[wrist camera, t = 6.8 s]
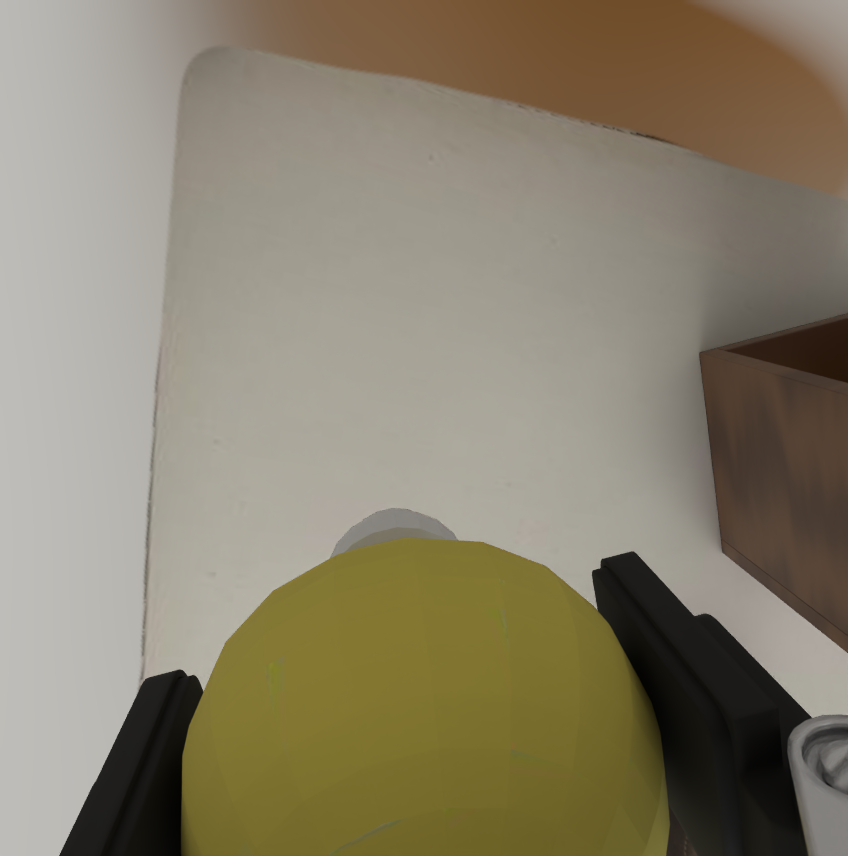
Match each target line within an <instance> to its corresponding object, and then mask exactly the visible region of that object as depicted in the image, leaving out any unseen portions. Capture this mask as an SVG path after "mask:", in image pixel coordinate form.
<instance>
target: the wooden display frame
mask: <svg viewBox="0 0 848 856" xmlns="http://www.w3.org/2000/svg"><path fill="white" fill-rule="evenodd" d="M700 362H701V370H702V379H703V387H704V396H705V404H706V413H707V421H708V430H709V439H710V447H711V456H712V464H713V473H714V481H715V490H716V498H717V507H718V515H719V524H720V532H721V538H722V539H721V541H722V550H723V553H724V554H725V555H726V556H727V557H729V558H730V559H731V560H732V561H734V562H735V563H736V564H737V565H739V566H740V567H741V568H742V569H744V570H745V571H746V572H747V573H749V574H750V575H751V576H752V577H754V578H755V579H756V580H757V581H759V582H760V583H761V584H762V585H764V586H765V587H766V588H767V589H769V590H770V591H771V592H772V593H774V594H775V595H776V596H777V597H779V598H780V599H781V600H782V601H784V602H785V603H786V604H787V605H789V606H790V607H791V608H792V609H794V610H795V611H796V612H797V613H799V614H800V615H801V616H802V617H803V618H805V619H806V620H807V621H808V622H810V623H811V624H812V625H813V626H815V627H816V628H817V629H818V630H820V631H821V632H822V633H823V634H825V635H826V636H827V637H828V638H830V639H831V640H832V641H833V642H835V643H836V644H837V645H838V646H840V647H841V648H842V649H843V650H845V651H846V652H847V653H848V314H844V315H840V316H837V317H833V318H829V319H825V320H821V321H818V322H814V323H810V324H806V325H803V326H799V327H795V328H791V329H787V330H784V331H780V332H776V333H772V334H768V335H765V336H761V337H757V338H753V339H750V340H746V341H742V342H738V343H734V344H731V345H727V346H723V347H719V348H717V349H716V348H715V349H711V350H708V351H704V352H700Z"/></svg>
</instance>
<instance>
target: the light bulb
mask: <svg viewBox="0 0 848 856" xmlns="http://www.w3.org/2000/svg"><path fill="white" fill-rule="evenodd" d="M669 828H670V820H669V807H668V795H667V785H666V777H665V768H664V759H663V751H662V742H661V733H660V729H659V726H658V722H657V719H656V715H655V712H654V709H653V705H652V702H651V700H650V698H649V696H648V694H647V693H646V691H645V689H644V687H643V685H642V683H641V681H640V679H639V677H638V676H637V674H636V672H635V670H634V668H633V666H632V665H631V663H630V661H629V659H628V657H627V656H626V654H625V652H624V650H623V648H622V647H621V645H620V643H619V641H618V639H617V637H616V636H615V634H614V632H613V630H612V628H611V627H610V625H609V623H608V622H607V621H606V620H605V619H604V618H603V616H602V615H601V614H600V613H599V612H598V611H597V610H596V608H595V607H594V606H593V605H592V604H590V603H589V602H588V601H587V600H586V599H584V598H583V597H582V596H581V595H580V594H579V593H577V592H576V591H575V590H574V589H573V588H571V587H570V586H569V585H568V584H567V583H565V582H564V581H563V580H562V579H561V578H559V577H558V576H557V575H556V574H555V573H554V572H552V571H551V570H550V569H549V568H548V567H546V566H544V565H542V564H539V563H536V562H534V561H531V560H528V559H526V558H523V557H521V556H518V555H515V554H513V553H510V552H507V551H505V550H502V549H500V548H497V547H494V546H492V545H489V544H486V543H484V542H474V541H458V539H457V538H456V536H455V534H454V533H453V532H452V531H450V530H449V529H448V528H447V527H446V526H444V525H443V524H442V523H441V522H439V521H438V520H436V519H434V518H431V517H429V516H426V515H423V514H421V513H418V512H413V511H411V510H408V509H397V508H391V509H387V510H382V511H378V512H376V513H374V514H372V515H370V516H369V517H367V518H365V519H363V521H362V522H360V523H358V524H356V525H355V526H353V527H351V529H350V530H349V531H348V532H347V533H346V534H345V535H344V536H343V537H342V538H341V539H340V540H339V541H338V543H337V544H336V546H335V549H334V551H333V553H332V555H331V557H330V559H329V560H327V561H325V562H323V563H321V564H320V565H318V566H316V567H314V568H313V569H311V570H309V571H307V572H306V573H304V574H302V575H300V576H299V577H297V578H295V579H293V580H292V581H290V582H288V583H286V584H285V585H283V586H281V587H279V588H278V589H276V590H274V591H273V592H272V593H271V594H270V595H269V596H268V597H267V598H266V599H265V600H264V601H263V602H262V603H261V605H260V606H259V607H258V608H257V609H256V610H255V611H254V612H253V613H252V614H251V615H250V616H249V618H248V619H247V620H246V621H245V622H244V623H243V624H242V625H241V626H240V627H239V628H238V629H237V631H236V632H235V633H234V634H233V635H232V636H231V637H230V638H229V639H228V640H227V641H226V643H225V645H224V647H223V649H222V651H221V654H220V656H219V658H218V660H217V662H216V664H215V667H214V669H213V671H212V674H211V676H210V678H209V681H208V683H207V685H206V688H205V690H204V692H203V695H202V697H201V699H200V702H199V704H198V706H197V709H196V711H195V713H194V716H193V718H192V720H191V723H190V725H189V728H188V733H187V738H186V742H185V747H184V751H183V756H182V802H181V856H666V852H667V844H668V836H669Z"/></svg>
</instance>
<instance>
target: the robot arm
mask: <svg viewBox="0 0 848 856" xmlns="http://www.w3.org/2000/svg"><path fill="white" fill-rule="evenodd" d="M592 579H593V585H594V591H595V597H596V603H597V608H598V612H599V613H600V614H601V615H602V616H603V618H604V619H605V620H606V621H607V622H608V623H609V625H610V627H611V628H612V630H613V632H614V634H615V636H616V637H617V639H618V641H619V643H620V645H621V647H622V648H623V650H624V652H625V654H626V656H627V657H628V659H629V661H630V663H631V665H632V666H633V668H634V670H635V672H636V674H637V676H638V677H639V679H640V681H641V683H642V685H643V687H644V689H645V691H646V693H647V694H648V696H649V698H650V700H651V702H652V705H653V709H654V712H655V715H656V719H657V722H658V726H659V729H660V733H661V742H662V751H663V759H664V768H665V777H666V785H667V795H668V804H669V806H670V808H671V810H672V811H673V813H674V815H675V817H676V818H677V820H678V822H679V824H680V826H681V827H682V829H683V831H684V833H685V834H686V836H687V838H688V840H689V841H690V843H691V845H692V847H693V848H694V850H695V852H696V854H697V856H848V715H822V716H818V717H815V718H812V717H811V716H810V715H809V714H808V713H807V712H806V711H805V710H804V709H803V708H802V707H801V706H800V705H799V704H798V703H797V702H796V701H795V700H794V699H793V698H792V697H791V696H790V695H789V694H788V693H787V692H786V691H785V690H784V689H783V688H782V687H781V685H780V684H779V683H778V682H777V681H776V680H775V679H774V678H773V677H772V676H771V675H770V674H769V673H768V672H767V671H766V670H765V669H764V668H763V667H762V666H761V665H760V664H759V663H758V662H757V661H756V660H755V659H754V658H753V657H752V656H751V655H750V654H749V653H748V652H747V651H746V649H745V648H744V647H743V646H742V645H741V644H740V643H739V642H738V641H737V640H736V639H735V638H734V637H733V636H732V635H731V634H730V633H729V632H728V631H727V630H726V629H725V628H724V627H723V626H722V625H721V624H720V623H719V622H718V621H717V620H716V619H715V618H714V617H712V616H711V615H709V614H701V615H698V616H693V614H692V613H691V612H690V611H689V610H688V609H687V608H686V607H685V606H684V605H683V604H682V603H681V601H680V600H679V599H678V598H677V597H676V596H675V595H674V594H673V593H672V592H671V591H670V589H669V588H668V587H667V586H666V585H665V584H664V583H663V582H662V581H661V580H660V579H659V578H658V576H657V575H656V574H655V573H654V572H653V571H652V570H651V569H650V568H649V567H648V566H647V565H646V563H645V562H644V561H643V560H642V559H641V558H640V557H639V556H638V555H637V554H636V553H635V552H628V553H624V554H620V555H616V556H612V557H608V558H605V559H602V560H601V568H600V569H596V570H593V571H592ZM202 695H203V689H202V687H201V684H200V682H199V680H198V678H197V677H196V676H194V675H191V676H188V677H187V675H186V673H185V672H184V671H183V670H176V671H172V672H168V673H165V674H161V675H157V676H153V677H149V678H147V679H145V681H144V682H143V684H142V686H141V688H140V690H139V692H138V694H137V696H136V698H135V700H134V702H133V705H132V707H131V709H130V711H129V713H128V715H127V717H126V719H125V721H124V724H123V726H122V728H121V730H120V732H119V734H118V736H117V738H116V740H115V742H114V744H113V747H112V749H111V751H110V753H109V755H108V757H107V759H106V761H105V763H104V765H103V768H102V770H101V772H100V774H99V776H98V778H97V780H96V782H95V783H94V785H93V786H92V788H91V790H90V792H89V795H88V797H87V799H86V801H85V803H84V805H83V807H82V809H81V811H80V813H79V815H78V818H77V820H76V822H75V824H74V826H73V828H72V830H71V832H70V834H69V837H68V838H67V841H66V843H65V845H64V847H63V849H62V851H61V853H60V855H59V856H181V802H182V756H183V751H184V747H185V742H186V738H187V733H188V728H189V725H190V723H191V720H192V718H193V716H194V713H195V711H196V709H197V706H198V704H199V702H200V699H201V697H202Z"/></svg>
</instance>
